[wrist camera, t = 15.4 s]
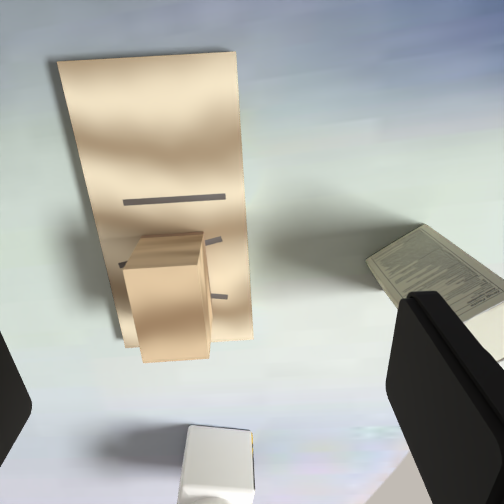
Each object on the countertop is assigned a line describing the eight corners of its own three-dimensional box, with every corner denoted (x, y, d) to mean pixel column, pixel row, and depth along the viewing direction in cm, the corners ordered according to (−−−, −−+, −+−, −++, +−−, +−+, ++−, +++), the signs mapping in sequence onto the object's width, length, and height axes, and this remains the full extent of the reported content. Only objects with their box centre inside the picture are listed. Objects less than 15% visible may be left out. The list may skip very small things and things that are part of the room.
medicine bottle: (241, 471, 46) (244, 596, 35) (181, 466, 45) (164, 592, 34) (252, 429, 43) (258, 551, 32) (188, 423, 42) (172, 545, 31)
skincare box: (384, 292, 36) (451, 389, 25) (362, 257, 34) (423, 345, 23) (446, 256, 34) (546, 342, 23) (427, 218, 33) (524, 291, 22)
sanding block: (142, 235, 31) (122, 269, 26) (203, 231, 31) (197, 264, 26) (157, 317, 34) (143, 363, 29) (213, 313, 34) (209, 358, 29)
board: (63, 62, 27) (56, 61, 25) (235, 52, 27) (235, 51, 26) (128, 339, 37) (125, 348, 36) (253, 331, 37) (253, 339, 36)
